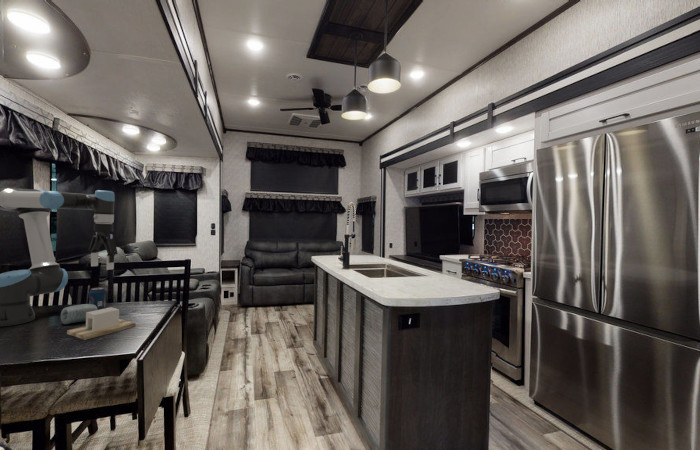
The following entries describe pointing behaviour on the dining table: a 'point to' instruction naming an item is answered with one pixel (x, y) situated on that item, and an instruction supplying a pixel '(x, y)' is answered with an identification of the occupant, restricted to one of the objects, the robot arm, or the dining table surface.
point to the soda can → (97, 297)
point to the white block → (102, 318)
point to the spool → (76, 313)
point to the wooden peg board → (89, 334)
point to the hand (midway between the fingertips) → (102, 267)
